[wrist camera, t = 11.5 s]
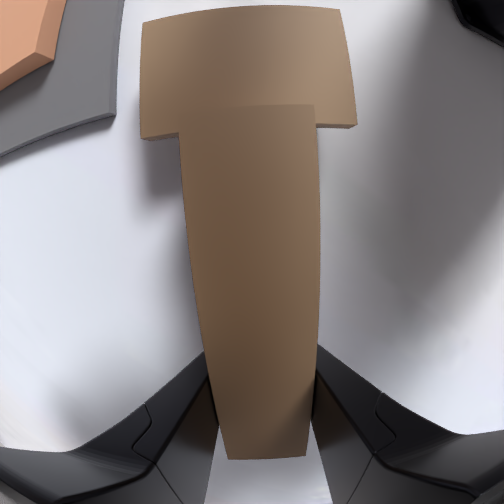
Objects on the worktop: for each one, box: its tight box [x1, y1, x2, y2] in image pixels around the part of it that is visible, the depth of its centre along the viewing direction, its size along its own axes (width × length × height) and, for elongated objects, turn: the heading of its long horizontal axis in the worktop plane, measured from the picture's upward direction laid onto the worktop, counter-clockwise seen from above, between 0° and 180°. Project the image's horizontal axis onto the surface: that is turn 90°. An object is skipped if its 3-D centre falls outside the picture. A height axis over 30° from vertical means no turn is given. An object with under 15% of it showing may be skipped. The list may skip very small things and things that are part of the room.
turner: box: [140, 5, 357, 460], centre depth 7 cm, size 6×14×3 cm, turn 4°
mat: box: [0, 0, 124, 157], centre depth 7 cm, size 12×14×1 cm
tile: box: [0, 0, 66, 91], centre depth 6 cm, size 6×2×9 cm
